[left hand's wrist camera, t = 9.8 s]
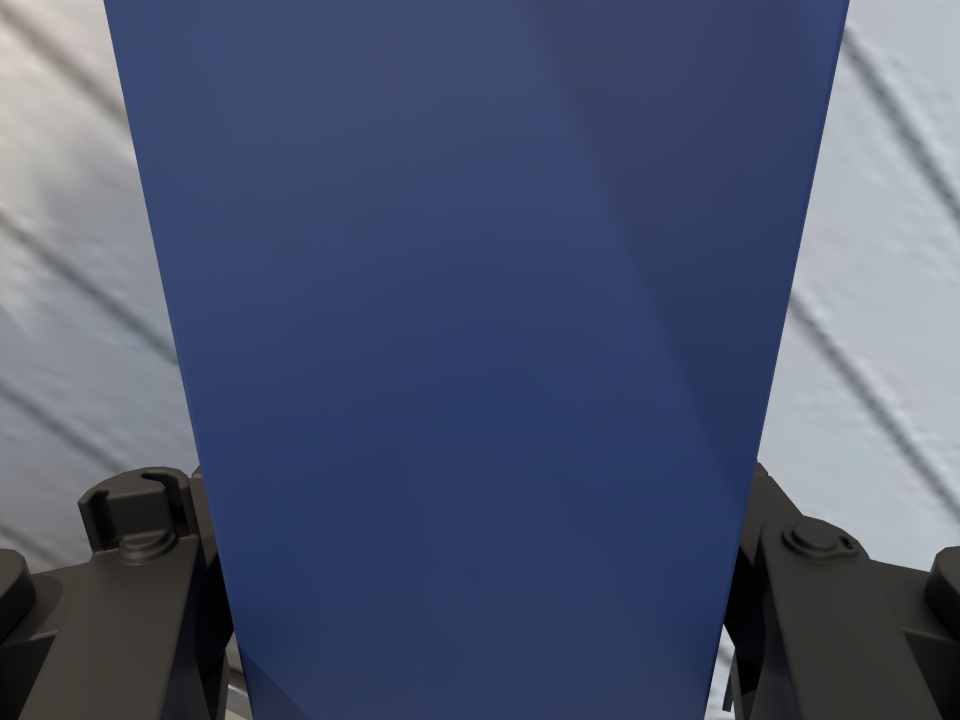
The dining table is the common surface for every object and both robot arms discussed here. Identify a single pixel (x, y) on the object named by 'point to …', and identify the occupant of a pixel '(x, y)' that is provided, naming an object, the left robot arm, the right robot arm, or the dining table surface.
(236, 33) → the bar
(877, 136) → the dining table surface
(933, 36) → the dining table surface
